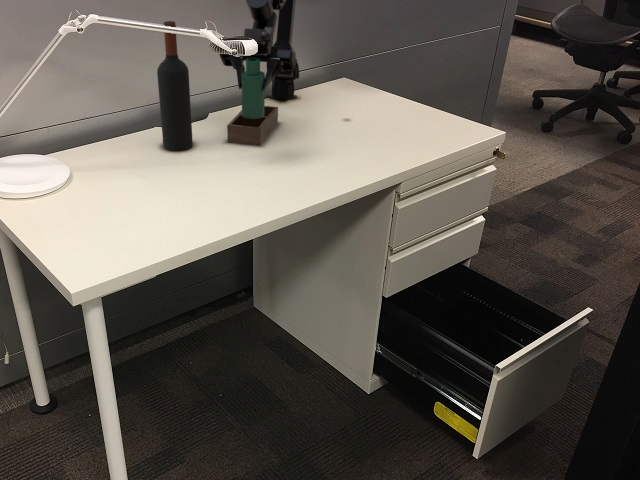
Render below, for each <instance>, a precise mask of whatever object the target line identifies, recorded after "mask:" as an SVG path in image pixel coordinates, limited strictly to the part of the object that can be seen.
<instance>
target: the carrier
mask: <svg viewBox="0 0 640 480" xmlns="http://www.w3.org/2000/svg"><path fill="white" fill-rule="evenodd" d="M278 124H279V107H278V106H272V105H265V113H264V116H263V117H262V118H258V119H248V118H244V117H243V116H242V109H241V110H240V111H239V112H238V113H237V114H236V115H235V116H234V117H233V118H232V119H231V120H230V122H229V123H227V125H226V130H227V134H226V135H227V143H232V144H239V145H240V144H241V145H250V146H259V147H261V146H262V144H263V143H264V142H265V141H266V139H267V138H268V137H269V135H270V134H271V133H272V132H273V131H274V129H275V128H276V127H277V125H278Z"/></svg>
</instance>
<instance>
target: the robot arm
mask: <svg viewBox="0 0 640 480" xmlns="http://www.w3.org/2000/svg"><path fill="white" fill-rule="evenodd" d="M296 1H297V0H245V2H246V4H247V8H248V11H249V14H250V17H251V18H252V19H253V21H252V25H251V26H252V27H251V28H244V30H243V38H244V37H249V38H252V39H254V40H255V41H256V42H257V44H258V52H257V53H256V54H254V55H251V56H233V55H229V54H219V53H218V55H219V57H220V60H221V62H222V65H223V66H225V67H232V68H233V70H235V71H236V78H237V86H238V89H239V90H242V84H241V73H243V72H245V71H246V66H245V65H244V62H246V59H247V58H252V57H253V58H259V59H260V63H266V72H265V79H264V83H263V91H265V92H266V90H267V89H268V87H269V86H270V84H271V94H268V95H267V98H269V99H272V100H275V101H278V102H280V103H282V102H283V103H284V102H287V101H290V100H294V99H297V98H298V95H296V94H295V81H296V80H298V79H300V67H299V62H298V59H297V52H296V50H295V47H294V46H293V44H292V42H293V34H294V33H293V31H294V22H295V12H296V4H297V3H296ZM275 11H278V15H277V13H276V12H275ZM276 25H277V29H276ZM275 30H276V40H275V42H274V35H275Z"/></svg>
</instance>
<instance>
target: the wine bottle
mask: <svg viewBox="0 0 640 480" xmlns="http://www.w3.org/2000/svg"><path fill="white" fill-rule="evenodd" d="M163 25H165V26H171V27H176V28H177V25H176V21H173V20H168V21H164V22H163ZM163 35H164V48H165V58H164V59H163V60H162V61H161V63H160V64H159V65H158V67H157V70H156V76H157V88H158V98H159V99H158V101H159V111H160V123H161V124H160V125H161V133H162V134H161V135H162V136H161V137H162V146H163V149H164V150H166V151H168V152H173V153H174V152H184V151H188V150H191V149H192V148H193V145H194V143H193V142H194V141H193V125H192V124H193V123H192V108H191V107H192V105H191V91H190V89H191V88H190V72H189V67H188V65H187V64H186V63H185V62H184V61H183V60H182V59H180V58H179V54H178V42H177V40H178V39H177V33H176V34H171V33H164V32H163Z"/></svg>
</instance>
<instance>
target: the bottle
mask: <svg viewBox="0 0 640 480" xmlns="http://www.w3.org/2000/svg"><path fill="white" fill-rule="evenodd" d="M265 76H266V72H264V71H261V62H260V59H259V58H253V57H252V58H247V59H246V61H245V72H243V73H241V84H242V87H241V110H242V116H243V117H244V118H248V119H258V118H262V117H263V116H264V113H265V106H266V105H265V103H266V101H265V99H266V98H265V97H266V96H265V95H266V94H265V92H266V90H265V91H263V83H264V79H265Z"/></svg>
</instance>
